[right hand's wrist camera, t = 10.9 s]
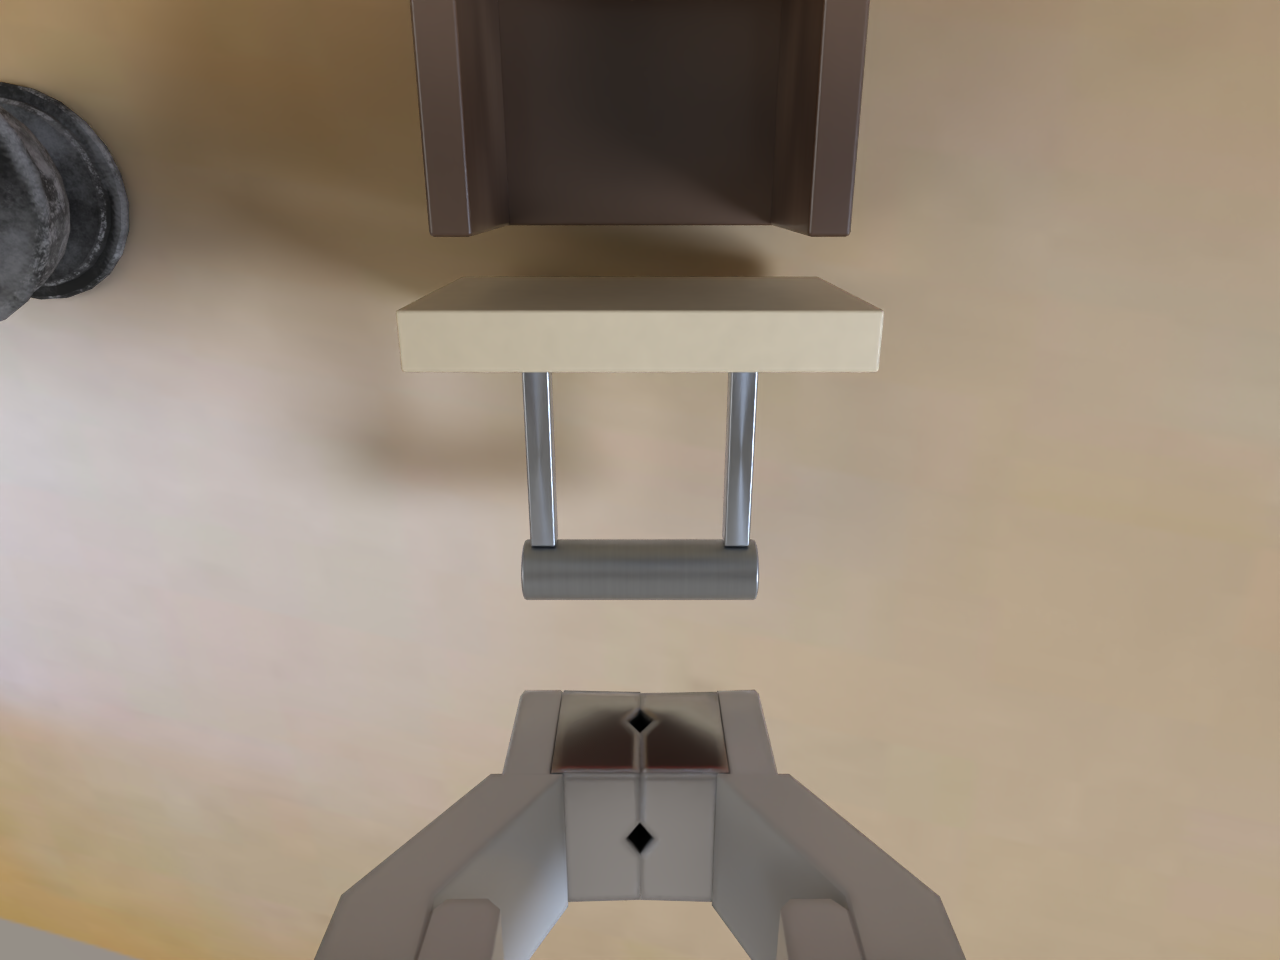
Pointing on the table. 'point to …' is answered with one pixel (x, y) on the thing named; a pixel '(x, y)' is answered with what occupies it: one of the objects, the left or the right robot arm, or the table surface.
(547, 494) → the drawer
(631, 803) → the right robot arm
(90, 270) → the chess piece
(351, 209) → the table surface
